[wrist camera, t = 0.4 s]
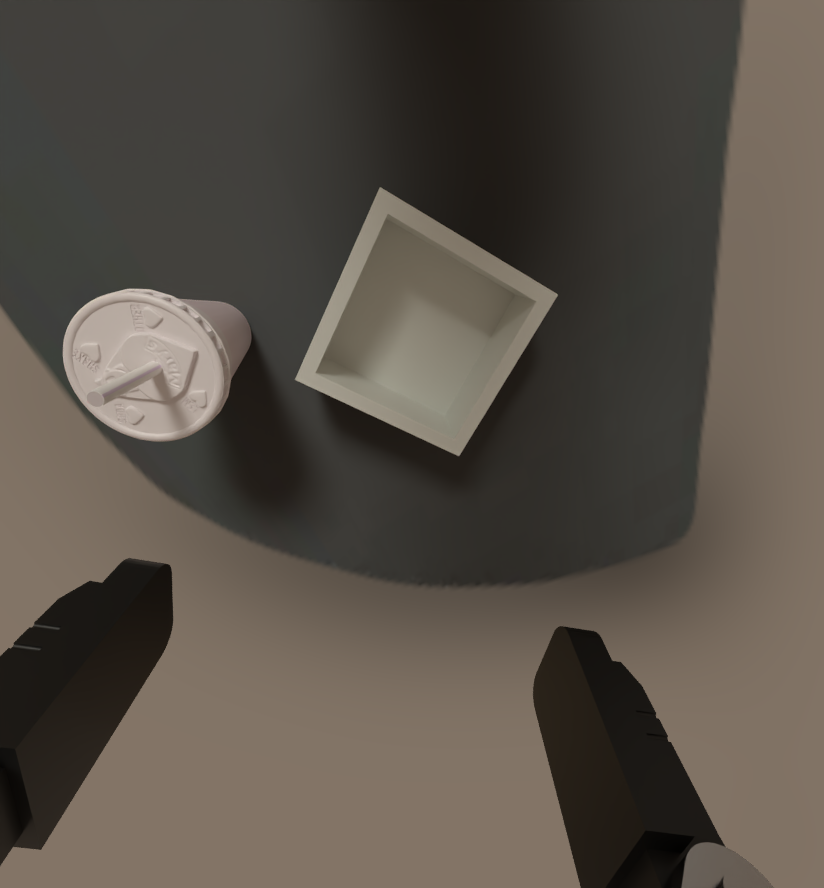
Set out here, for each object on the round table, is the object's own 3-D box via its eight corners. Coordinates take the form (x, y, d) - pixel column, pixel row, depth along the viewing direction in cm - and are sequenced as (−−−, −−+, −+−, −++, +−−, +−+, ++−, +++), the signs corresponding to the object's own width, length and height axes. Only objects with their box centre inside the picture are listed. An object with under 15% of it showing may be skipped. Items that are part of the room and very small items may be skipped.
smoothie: (292, 362, 28) (220, 455, 16) (200, 398, 29) (57, 516, 16) (242, 259, 26) (107, 268, 13) (142, 300, 26) (-82, 347, 14)
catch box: (379, 198, 25) (379, 187, 21) (528, 287, 28) (558, 294, 23) (308, 359, 28) (295, 379, 24) (447, 425, 31) (458, 456, 26)
